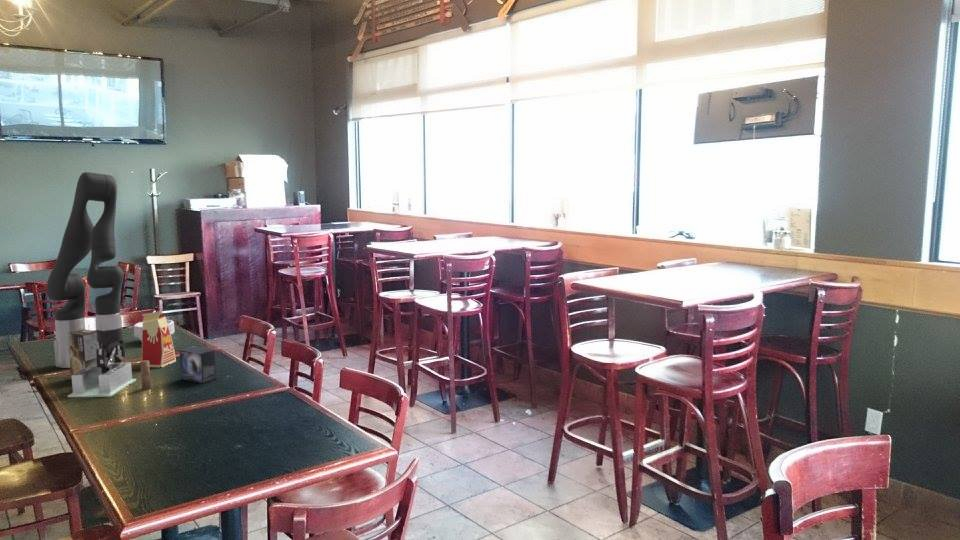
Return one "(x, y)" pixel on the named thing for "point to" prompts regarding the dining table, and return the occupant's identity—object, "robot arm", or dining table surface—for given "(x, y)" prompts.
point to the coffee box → (82, 349)
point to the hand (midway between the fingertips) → (112, 375)
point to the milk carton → (157, 340)
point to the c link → (102, 378)
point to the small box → (198, 364)
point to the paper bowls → (139, 327)
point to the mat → (95, 391)
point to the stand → (145, 375)
